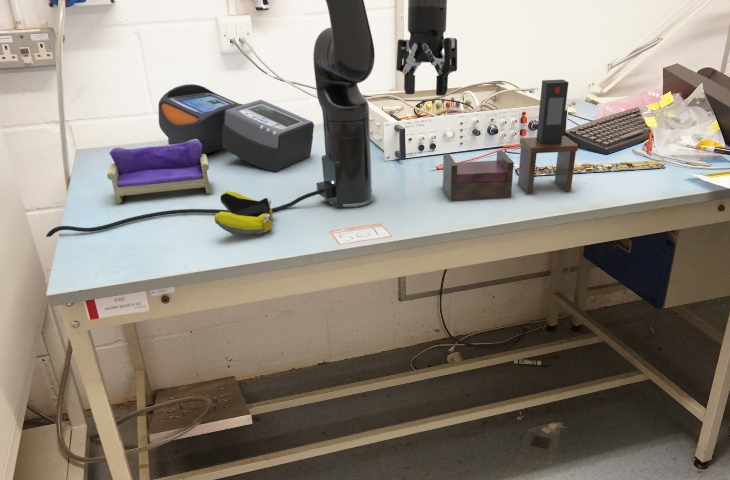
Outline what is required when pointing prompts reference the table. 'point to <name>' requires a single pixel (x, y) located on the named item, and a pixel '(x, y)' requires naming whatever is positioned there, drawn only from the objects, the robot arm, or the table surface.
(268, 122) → the diagnostic device
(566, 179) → the walnut shelf
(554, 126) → the slim remote
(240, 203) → the yellow bananas
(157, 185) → the toy sofa
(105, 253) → the table surface
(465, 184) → the cushioned bench
